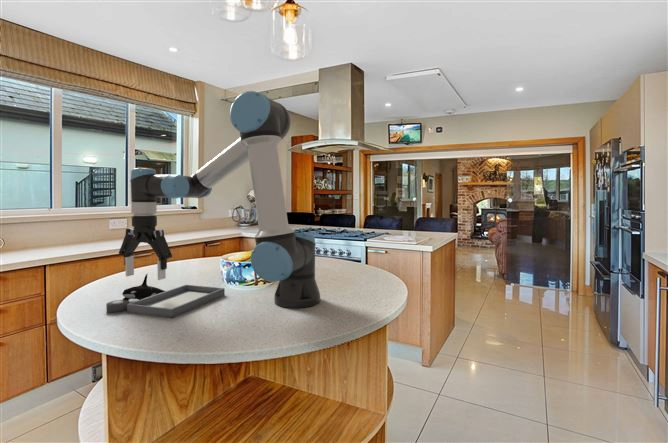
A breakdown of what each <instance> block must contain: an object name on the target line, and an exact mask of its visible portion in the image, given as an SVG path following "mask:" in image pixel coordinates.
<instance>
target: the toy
mask: <svg viewBox="0 0 668 443" xmlns="http://www.w3.org/2000/svg"><path fill="white" fill-rule="evenodd" d="M147 280H148V273H146V274H145V277H144V278H143V281H142V283H141V285H135V286H132V287H129V288H126V289H124V290H123V292H122V293H121V294H122V297H123V298H122V300H128V301H130V300H141V299H144V298H147V297H150V296H153V295H156V294H159V293H162V292H165V291H166V290H163V289H161V288H158V287H155V286H151V285H148V283H147V282H148V281H147Z"/></svg>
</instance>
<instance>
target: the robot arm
mask: <svg viewBox="0 0 668 443" xmlns="http://www.w3.org/2000/svg"><path fill="white" fill-rule="evenodd" d="M229 118H230V119H229V120H230V122H231V124H232V127H234V128H235V130H237V131H238V132H239V136H240V137H239V138H237V140H236V141H235V142H233V143H232V144H230V145H229V146H228V147H226V148H225V149H223V151H221V153H219V154H217V155H216V156H215V157H214V158H212V160H210V161H208V162H207V163H206V164H205V165H203V166H202V167H201V168H200V169H198V170H197V171H196V172H194V173H193V174H192V175H189V176H187V175H183V174H175V173H172V174H157V170H156V169H155V168H145V167H141V168H140V167H134V168H132V169H131V171H130V180H129V181H130V198H131V200H130V201H131V202H130V203H131V204H130V205H131V207H130V208H131V210H130V213H131V214H132V216H131V226H132V227H129V228H126V229H125V235H124V238H123V241H122V243H121V246H120V249H119V251H118V255H121V256H123V258H124V259H123V262H124V264H123V265H124V266H125V277H131V276H135V264H134V263H135V260H134V258H135V257H134V252H135V251H136V249H137V248H138V246H139V245H140V244H141V243H144V244H147V245H149V246H150V247H151V249H152V250H153V251H154V253H155V254H156V256H157V258H158V259H157V263H156V264H157V265H156V266H157V280H158V281H161V280H164V279H166V278H167V276H166V274H167V273H166V270H167V269H168V267H167V266H168V259H171V258H172V257H173V254H172V252H171V249H170V247H169V245H168V242H167V239H166V237H165V231H164V230H163V229H158V230H156V227H157V226H158V217H157V215H156V214H157V207H158V206H157V198H165V199H166V198H167V199H169V198H170V199H179V198H180V199H181V198H182V199H185V198H186V199H187V198H190V199H191V198H192V199H201V198H206V197H209V196H210V195H211V192H212V191H213V188H214V187H215V186H216V185H218V184H219V183H221V182H222V181H223V180H225V179H226V178H227V177H229V176H230V175H231V174H232V173H234V172H235V171H237V170H238V169H239V168H241V167H242V166H244V164H246V163H247V162H249V168H250V175H251V182H252V189H253V190H252V191H253V195H254V202H255V210H256V216H257V217H256V218H257V224H258V231H257V232H256V234H255V235H254V242H255V247H254V248H253V250H252V251H251V253H250V254H251V255H250V266H251V268H252V269H253V272H254V273H255V275H257V276H258V277H259V278H261V279H262V280H263V281H266V282H269V283H272V282H275V283H276V282H278V284H277V286H276V289H275V293H274V304H275V305H277V306H279V307H282V308H290V309H300V308H301V309H302V308H310V307H313V306H314V307H315V306H316V305H318V304H320V302H321V294H320V290H319V287H318V283H317V280H316V245H317V244H316V237H315V235H314V234H312V233H308V232H295V230H293V229H292V228H291V227H290V226H289V220H288V213H287V205H286V200H285V192H284V184H283V178H282V171H281V164H280V157H279V150H278V149H279V148H278V145H279V144H280V142H281V141H282V140H283V139H284V138H285V137H286V136H287V135H288V133H289V131H290V129H291V116H290V113H289V111H288V110H287V108H286V107H285V106H283V104H282V103H279V102H277V101H275V100H273V99H271V98H270V97H268V96H267V95H266V94H264V93H261V92H257V91H255V90H249V91H245V92H242V93H240V94H239V95H238V96H236V98H235V100H234V101H233V102H232V104H231V106H230V111H229Z"/></svg>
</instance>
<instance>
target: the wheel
mask: <svg viewBox="0 0 668 443" xmlns="http://www.w3.org/2000/svg"><path fill="white" fill-rule="evenodd" d="M129 303H130V300H123V299H118V300H111V301H108V302H107V303H106V307H105V308H106V313H107V314H121V313H125V312H127V304H129Z"/></svg>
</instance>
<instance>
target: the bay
mask: <svg viewBox="0 0 668 443" xmlns="http://www.w3.org/2000/svg"><path fill="white" fill-rule="evenodd" d="M164 291H165V292H162V293H159V294H156V295H153V296H150V297H147V298H144V299H141V300H139V299H137V300H134V301H132V302H129V304H127V311H126V312H127V313H130V314H137V315H143V316H150V317H151V316H152V317H160V318H166V319H167V318H168V319H174V318H175V317H176V318H177V317H178V316H180V315H184V314H186V313H188V312H190V311H192V310H194V309H197V308H199V307H201V306H204V305H205V304H208V303H210V302H214V301H215V300H217V299H220V298H221V297H224V296H225V294H226V293H225V292H226V291H225V288H224V287H214V286H204V285H196V284H195V285H193V284H184V285H183V284H182V285H181V286H178V287H174V288H171V289H169V290H164Z"/></svg>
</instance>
